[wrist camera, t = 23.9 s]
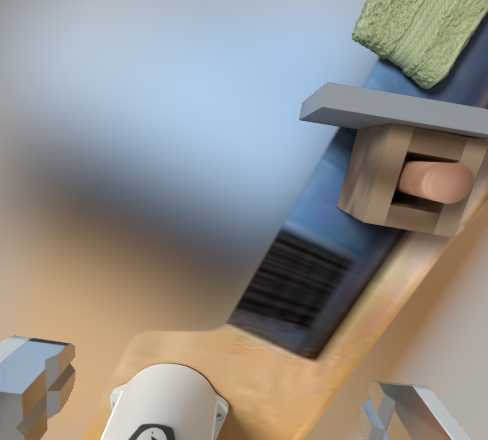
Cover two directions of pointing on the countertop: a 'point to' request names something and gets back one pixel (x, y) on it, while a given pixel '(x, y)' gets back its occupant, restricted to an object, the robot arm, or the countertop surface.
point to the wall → (391, 111)
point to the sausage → (435, 181)
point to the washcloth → (419, 33)
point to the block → (388, 170)
